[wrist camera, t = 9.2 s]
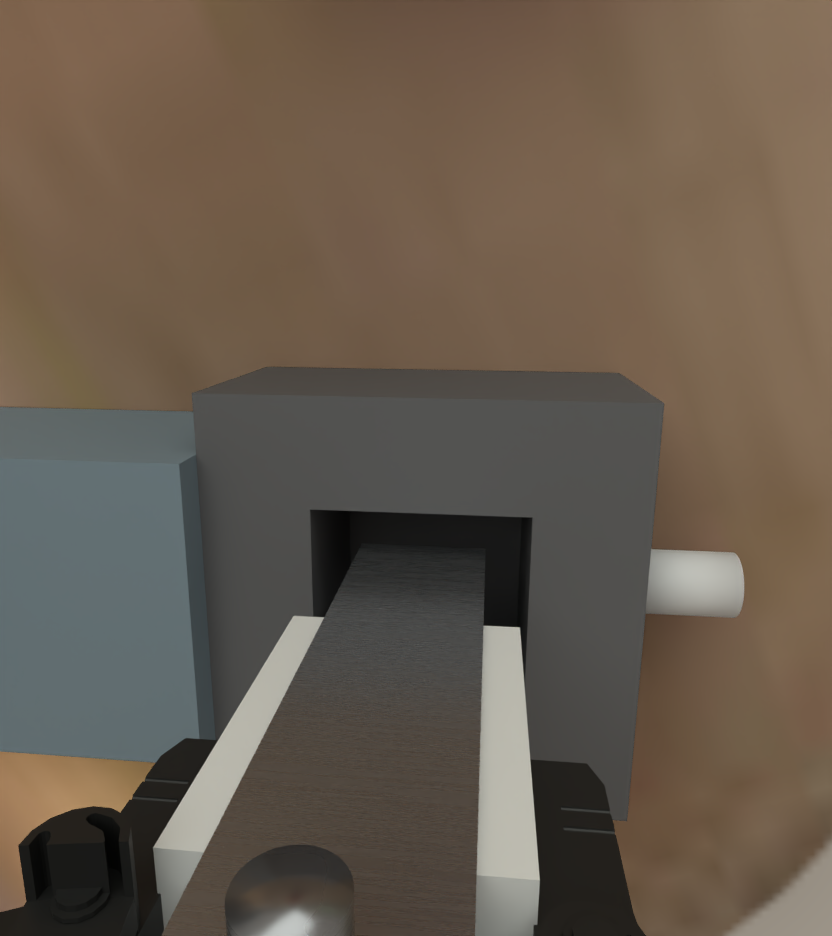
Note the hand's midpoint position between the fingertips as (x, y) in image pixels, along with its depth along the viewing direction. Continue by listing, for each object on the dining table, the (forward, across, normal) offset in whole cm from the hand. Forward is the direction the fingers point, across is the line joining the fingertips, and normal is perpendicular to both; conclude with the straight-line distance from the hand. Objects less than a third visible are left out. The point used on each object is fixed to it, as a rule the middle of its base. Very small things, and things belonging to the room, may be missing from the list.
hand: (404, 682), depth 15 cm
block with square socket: (+9, -6, 0) cm, 11 cm away
